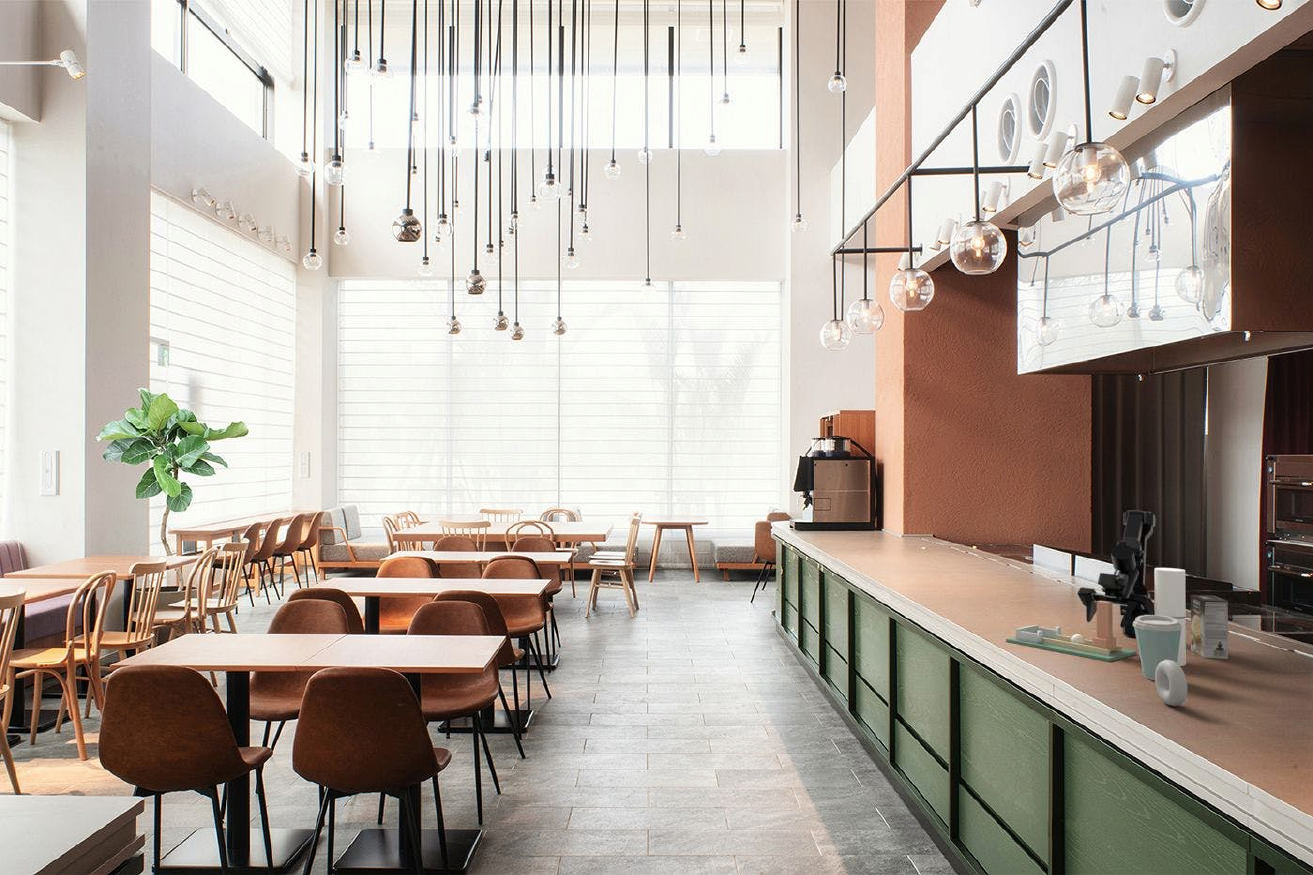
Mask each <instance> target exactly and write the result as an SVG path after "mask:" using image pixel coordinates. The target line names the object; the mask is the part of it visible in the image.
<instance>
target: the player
mask: <svg viewBox="0 0 1313 875" xmlns="http://www.w3.org/2000/svg"><path fill="white" fill-rule="evenodd" d="M1113 617H1114V616H1113V603H1112V602H1106V601H1097V611H1096V637H1093V638H1092V641H1093V647H1098V648H1104V649H1109V650H1110V652H1111V651H1115V650H1116V645H1117V637H1114V636H1113V632H1114V631H1113Z"/></svg>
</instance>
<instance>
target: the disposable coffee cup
mask: <svg viewBox="0 0 1313 875" xmlns="http://www.w3.org/2000/svg"><path fill="white" fill-rule="evenodd" d="M1133 626H1134V629H1135V634H1136V637H1135V638H1136V644H1137V647H1138V648H1137V649H1138V654H1139V658H1140V663H1141V664H1140V665H1141V669H1142V674H1143V675H1144V677H1145V678H1146V679H1147V680H1151V681H1155V672H1156V668H1157V666H1158V664H1159V663H1160V662H1162V661H1164V660H1171V661H1174V662H1176V663H1177V658H1178V650H1179V643H1180V635H1181V630H1182V625H1180V624H1179V621H1178V620H1177V619H1175V618H1171V617H1168V616H1159V615H1144V616H1138V617H1137V618H1135V621H1134V622H1133Z"/></svg>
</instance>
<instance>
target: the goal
mask: <svg viewBox="0 0 1313 875" xmlns="http://www.w3.org/2000/svg"><path fill="white" fill-rule="evenodd" d="M1056 634H1058V635H1062V627H1061V626H1056V627H1055V629H1053V628H1048V627H1043V626H1039V625H1038V624H1034V625H1027V626H1022V627H1018V628H1015V637H1016V639H1018V640H1023V641H1029V642H1034V643H1038V644H1043V636H1044V637H1049V638H1055V635H1056Z"/></svg>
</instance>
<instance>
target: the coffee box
mask: <svg viewBox="0 0 1313 875" xmlns="http://www.w3.org/2000/svg"><path fill="white" fill-rule="evenodd" d="M1228 606H1229V601H1228V600H1226V599H1224V598H1221V597H1218V596H1217V595H1207V594H1205V595H1202V594H1190V650H1191V651H1192V652H1193V653H1195V654H1197V655H1198V656H1201V657H1202V658H1204V659H1221V660H1222V659H1223V660H1228V659H1229V649H1228V648H1229V638H1228V637H1229V636H1228V635H1229V634H1228V633H1229V631H1228V630H1229V629H1228V628H1229V620H1228V618H1229V613H1228V612H1229V607H1228Z"/></svg>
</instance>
